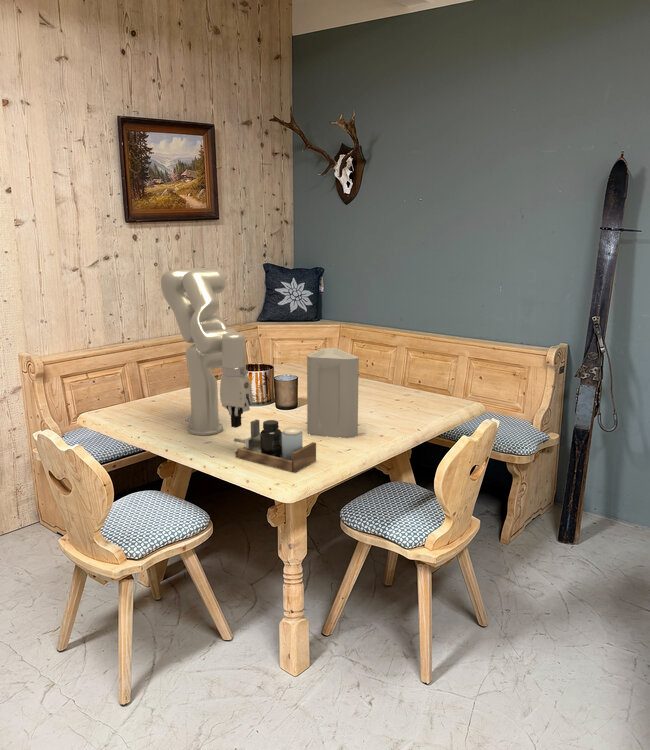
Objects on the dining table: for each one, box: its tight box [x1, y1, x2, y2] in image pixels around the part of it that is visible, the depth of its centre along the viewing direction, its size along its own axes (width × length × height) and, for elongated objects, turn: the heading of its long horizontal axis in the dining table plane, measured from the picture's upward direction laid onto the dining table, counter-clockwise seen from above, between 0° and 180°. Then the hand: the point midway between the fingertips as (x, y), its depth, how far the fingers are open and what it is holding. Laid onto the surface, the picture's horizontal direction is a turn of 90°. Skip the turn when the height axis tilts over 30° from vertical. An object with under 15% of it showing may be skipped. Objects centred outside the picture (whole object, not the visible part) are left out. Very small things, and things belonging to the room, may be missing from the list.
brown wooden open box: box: [235, 442, 317, 473], centre depth 209 cm, size 23×11×6 cm, turn 57°
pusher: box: [233, 419, 261, 453], centre depth 215 cm, size 9×8×11 cm
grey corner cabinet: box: [306, 347, 360, 439], centre depth 233 cm, size 19×15×28 cm
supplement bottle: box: [260, 419, 283, 458], centre depth 210 cm, size 7×7×12 cm
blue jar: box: [281, 426, 304, 461], centre depth 205 cm, size 6×6×11 cm
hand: (236, 426), depth 216 cm, fingers closed
